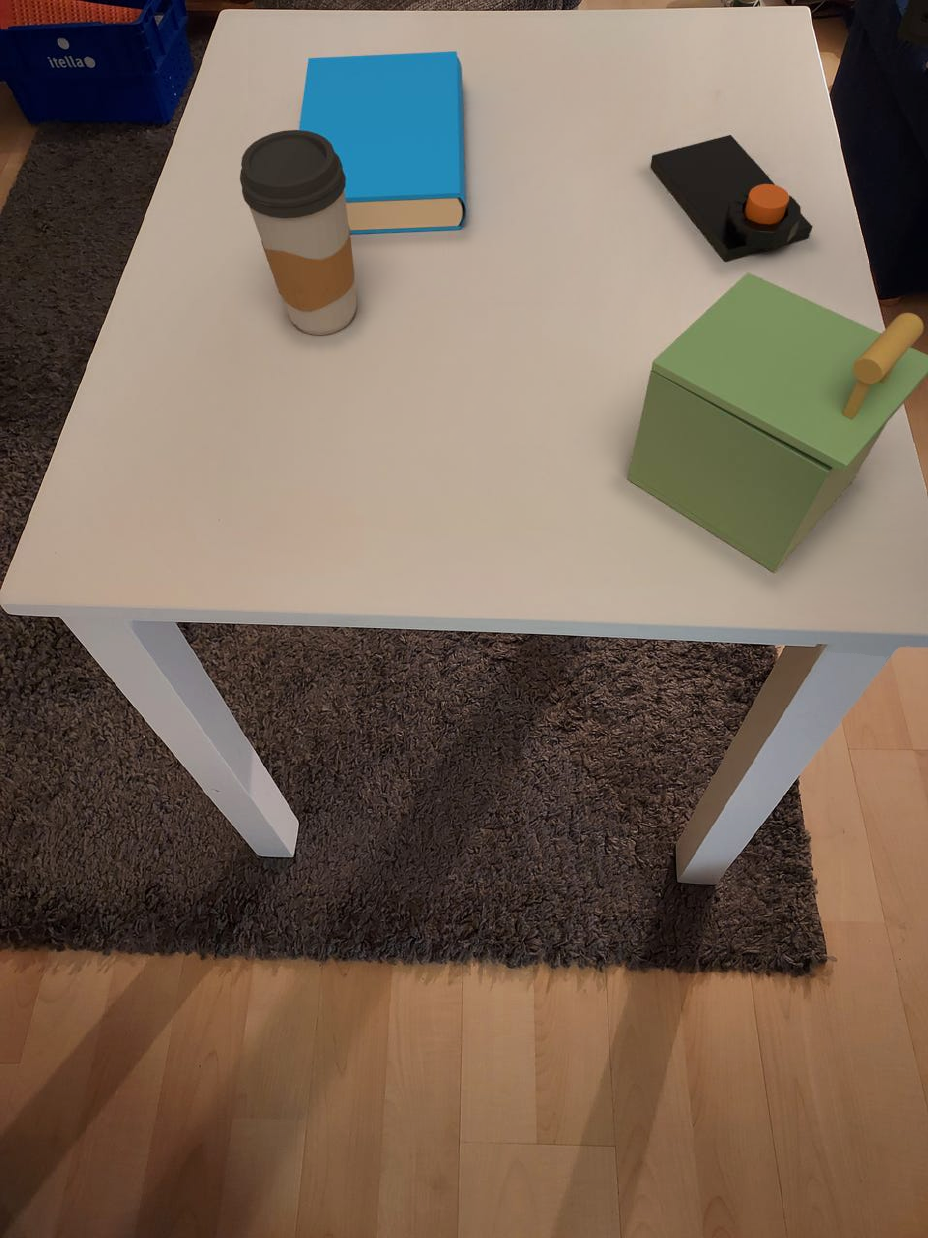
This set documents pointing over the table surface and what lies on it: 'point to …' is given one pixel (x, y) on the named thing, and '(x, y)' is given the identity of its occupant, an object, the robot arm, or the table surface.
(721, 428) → the chest
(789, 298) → the lid
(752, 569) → the table surface
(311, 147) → the coffee cup
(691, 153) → the button housing
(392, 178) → the book
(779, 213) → the button
